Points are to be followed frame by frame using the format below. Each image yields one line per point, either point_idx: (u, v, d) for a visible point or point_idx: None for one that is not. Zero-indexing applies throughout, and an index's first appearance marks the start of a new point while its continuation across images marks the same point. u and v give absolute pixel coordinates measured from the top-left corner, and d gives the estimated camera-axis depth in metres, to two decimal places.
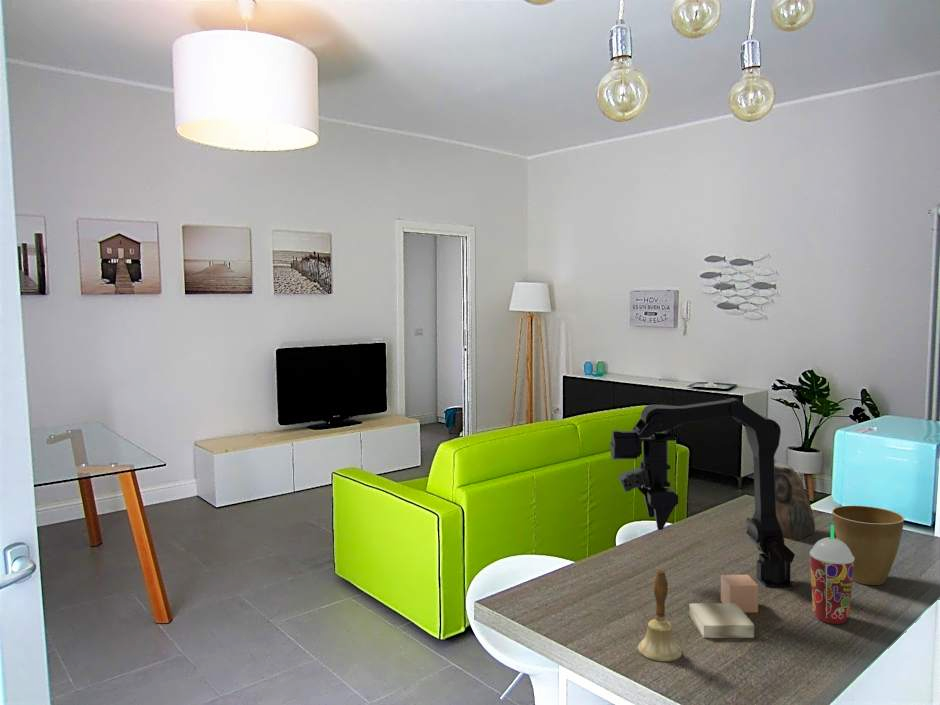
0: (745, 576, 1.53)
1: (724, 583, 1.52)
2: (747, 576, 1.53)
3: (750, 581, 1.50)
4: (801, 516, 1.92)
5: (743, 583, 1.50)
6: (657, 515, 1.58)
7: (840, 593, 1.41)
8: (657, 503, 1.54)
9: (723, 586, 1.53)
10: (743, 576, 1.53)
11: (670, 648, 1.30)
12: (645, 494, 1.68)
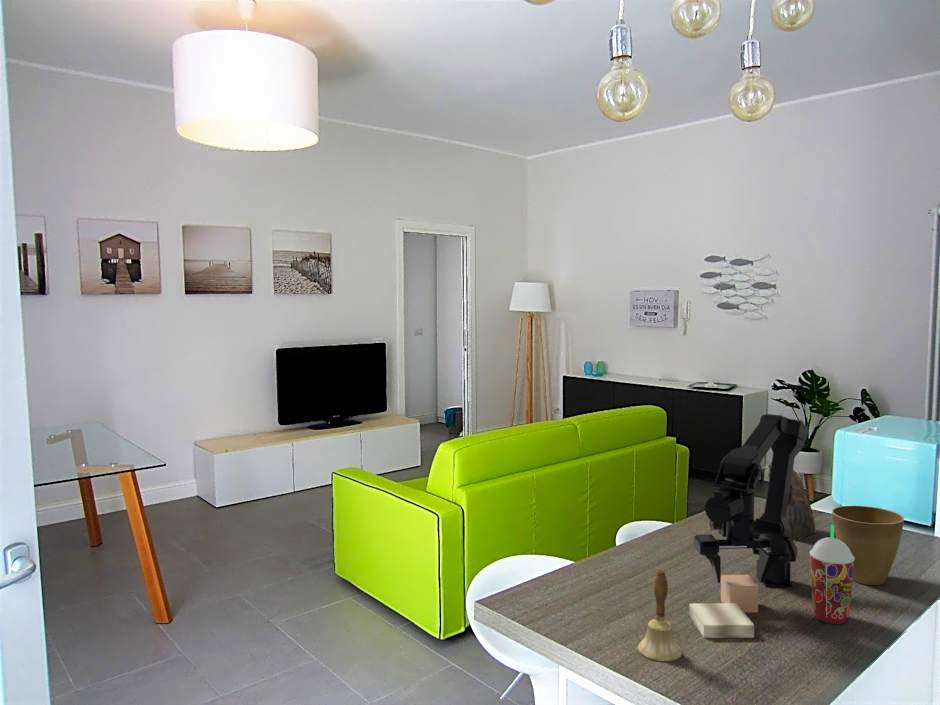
0: (745, 576, 1.53)
1: (724, 583, 1.52)
2: (747, 576, 1.53)
3: (750, 581, 1.50)
4: (801, 516, 1.92)
5: (743, 583, 1.50)
6: (711, 564, 1.52)
7: (840, 593, 1.41)
8: (694, 546, 1.52)
9: (723, 586, 1.53)
10: (743, 576, 1.53)
11: (670, 648, 1.30)
12: (760, 555, 1.52)
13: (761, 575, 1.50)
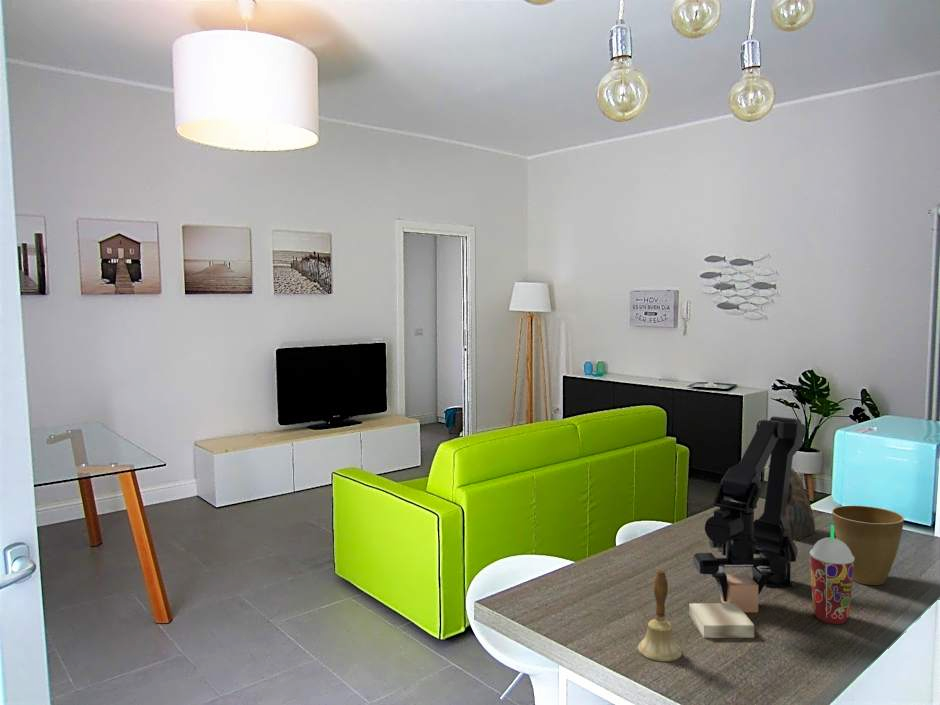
0: (745, 575, 1.53)
1: None
2: (748, 576, 1.53)
3: (750, 581, 1.50)
4: (801, 516, 1.92)
5: (744, 582, 1.50)
6: (717, 582, 1.52)
7: (840, 593, 1.41)
8: (694, 564, 1.53)
9: None
10: (743, 576, 1.53)
11: (670, 648, 1.30)
12: (753, 573, 1.52)
13: None
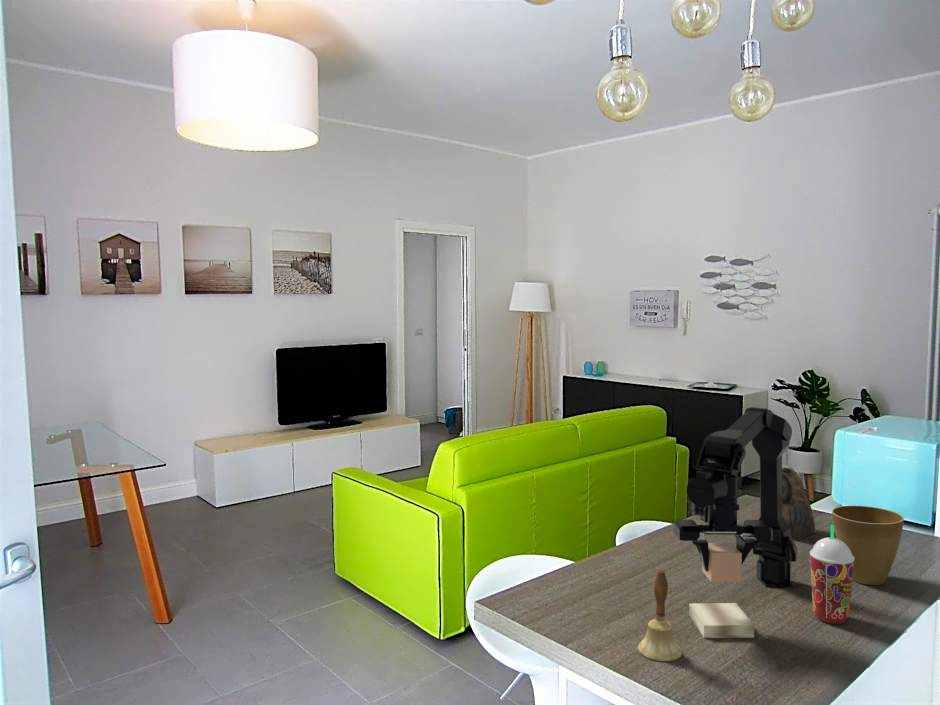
0: (728, 544, 1.44)
1: None
2: (731, 545, 1.44)
3: (733, 549, 1.41)
4: (801, 516, 1.92)
5: (726, 550, 1.40)
6: (698, 551, 1.43)
7: (840, 593, 1.41)
8: (674, 531, 1.44)
9: None
10: (726, 544, 1.44)
11: (670, 648, 1.30)
12: (736, 542, 1.43)
13: None
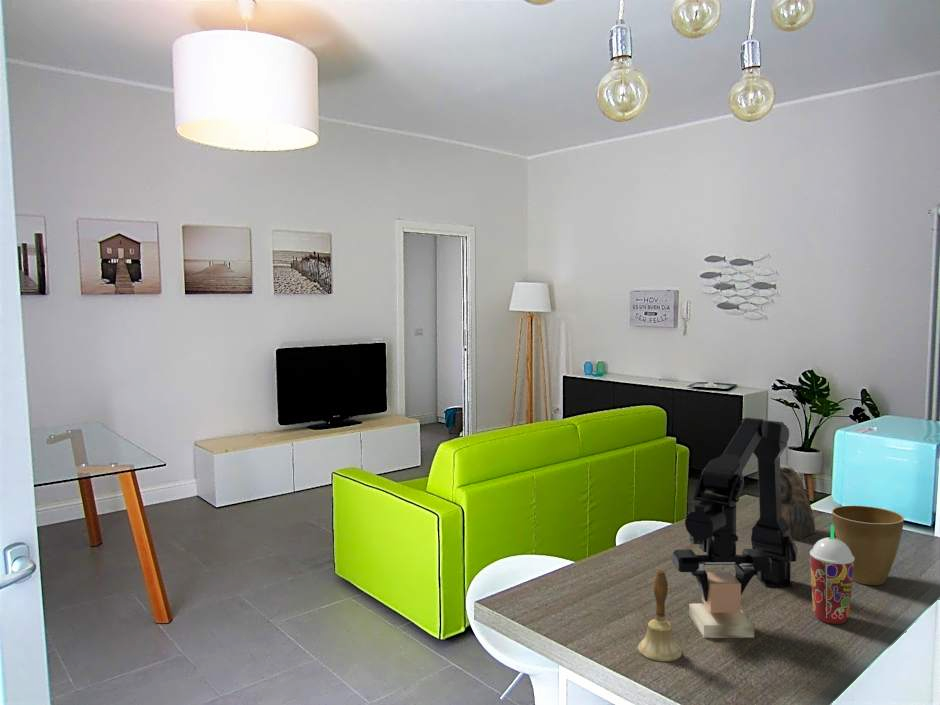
0: (727, 573, 1.44)
1: None
2: (730, 574, 1.44)
3: (732, 579, 1.41)
4: (801, 516, 1.92)
5: (725, 580, 1.40)
6: None
7: (840, 593, 1.41)
8: (673, 561, 1.44)
9: None
10: (725, 574, 1.44)
11: (670, 648, 1.30)
12: (736, 571, 1.43)
13: None
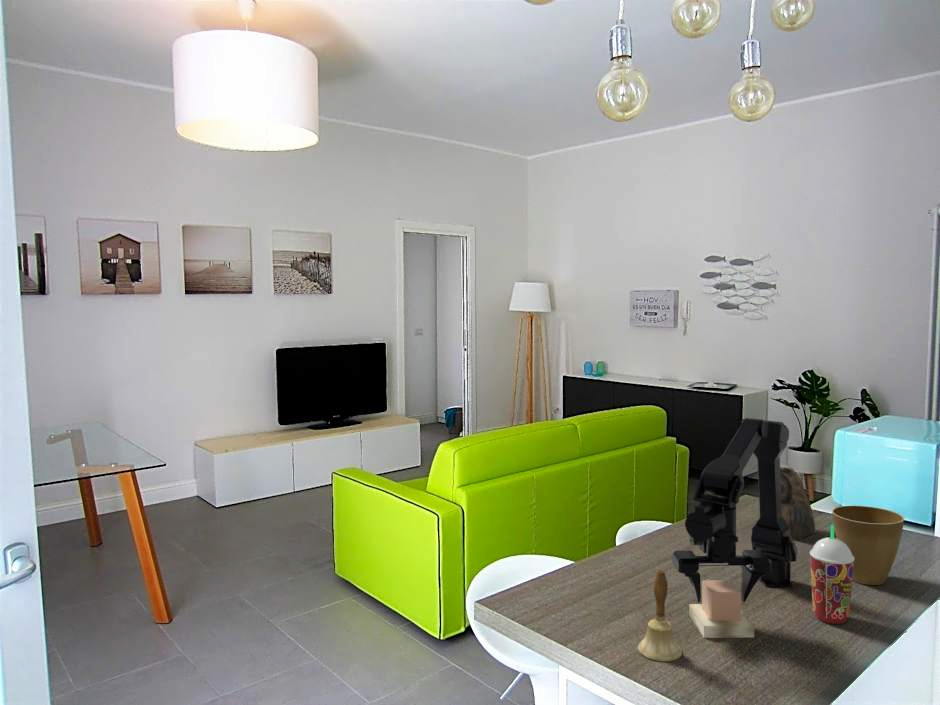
0: (727, 581, 1.44)
1: (706, 589, 1.43)
2: (730, 582, 1.44)
3: (733, 587, 1.41)
4: (801, 516, 1.92)
5: (726, 589, 1.41)
6: None
7: (840, 593, 1.41)
8: (673, 562, 1.44)
9: (704, 592, 1.44)
10: (726, 582, 1.44)
11: (670, 648, 1.30)
12: (742, 572, 1.43)
13: (744, 594, 1.41)
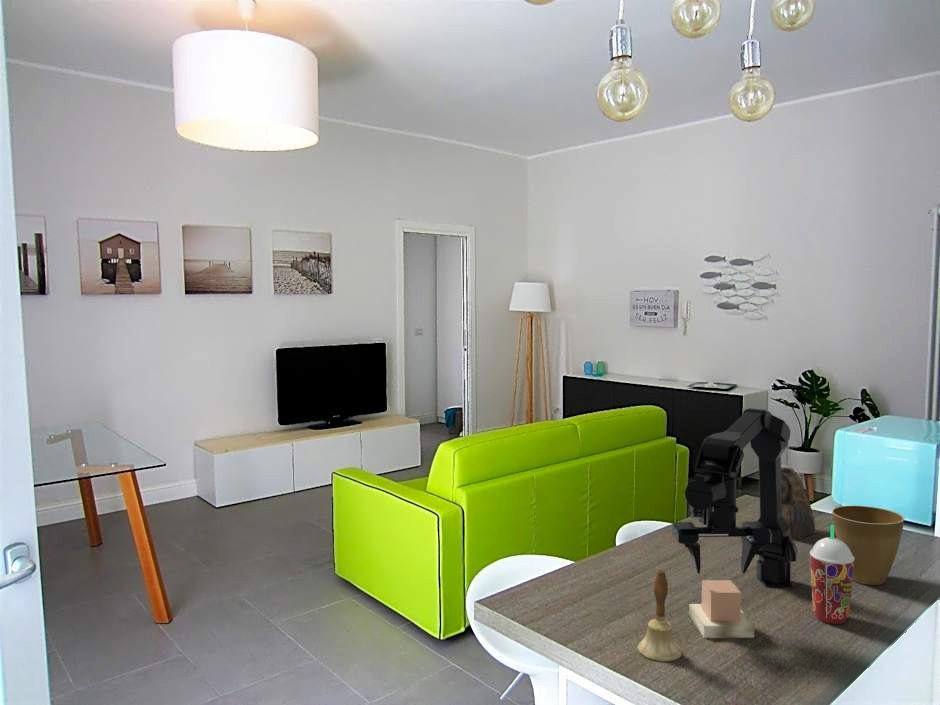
0: (727, 581, 1.44)
1: (705, 589, 1.43)
2: (730, 582, 1.44)
3: (732, 588, 1.41)
4: (801, 516, 1.92)
5: (726, 589, 1.40)
6: (690, 553, 1.43)
7: (840, 593, 1.41)
8: (673, 534, 1.43)
9: (704, 592, 1.43)
10: (725, 582, 1.44)
11: (670, 648, 1.30)
12: (742, 544, 1.42)
13: (744, 565, 1.41)
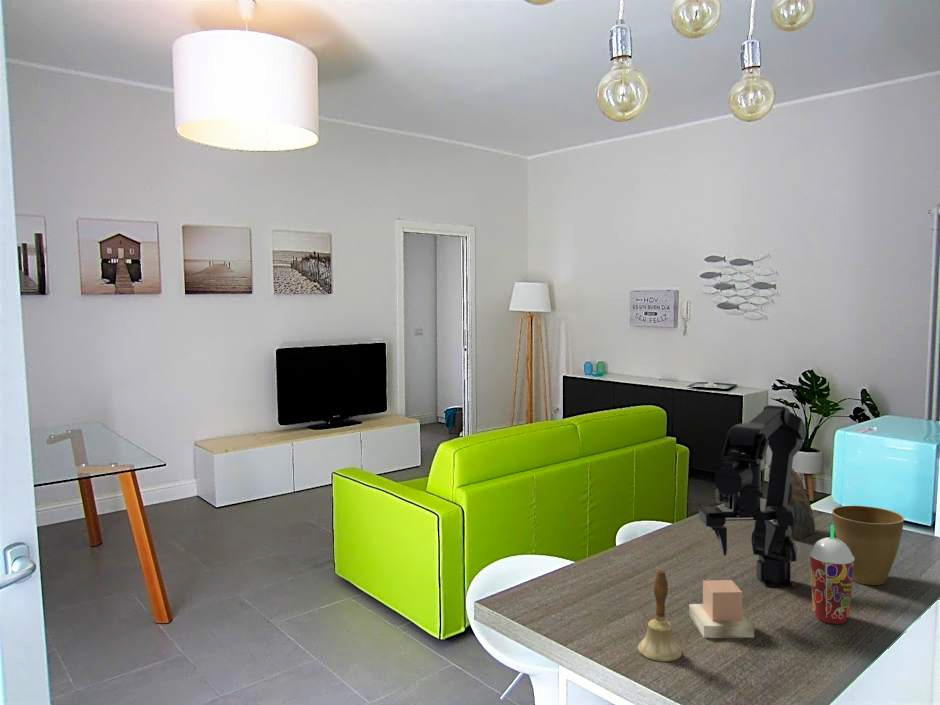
0: (728, 581, 1.44)
1: (707, 589, 1.43)
2: (731, 582, 1.44)
3: (734, 587, 1.41)
4: (801, 516, 1.92)
5: (727, 589, 1.41)
6: (717, 536, 1.50)
7: (840, 593, 1.41)
8: (700, 518, 1.51)
9: (705, 593, 1.44)
10: (726, 582, 1.44)
11: (670, 648, 1.30)
12: (766, 527, 1.50)
13: (768, 547, 1.48)
